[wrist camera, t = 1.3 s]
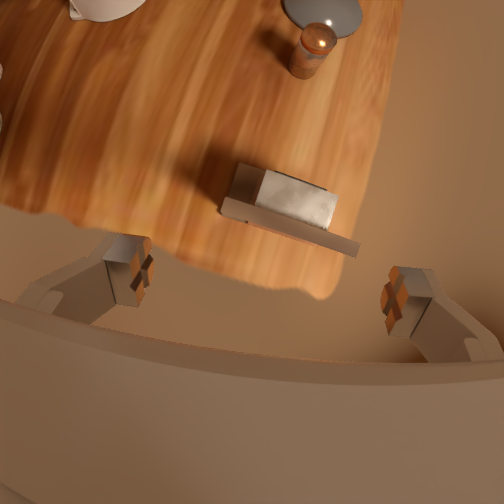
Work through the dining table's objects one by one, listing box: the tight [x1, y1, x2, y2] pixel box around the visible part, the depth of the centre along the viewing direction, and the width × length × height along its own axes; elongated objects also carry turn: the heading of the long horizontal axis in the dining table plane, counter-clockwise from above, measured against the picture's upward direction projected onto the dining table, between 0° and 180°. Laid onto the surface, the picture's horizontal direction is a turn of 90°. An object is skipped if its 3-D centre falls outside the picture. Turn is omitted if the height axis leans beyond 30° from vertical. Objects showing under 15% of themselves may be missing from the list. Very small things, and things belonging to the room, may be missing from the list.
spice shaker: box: [288, 22, 337, 79], centre depth 39 cm, size 5×5×11 cm
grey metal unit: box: [250, 170, 339, 231], centre depth 36 cm, size 4×8×8 cm, turn 72°
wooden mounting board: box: [220, 162, 360, 258], centre depth 39 cm, size 8×14×18 cm, turn 71°
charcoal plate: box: [284, 0, 362, 39], centre depth 42 cm, size 14×14×1 cm
